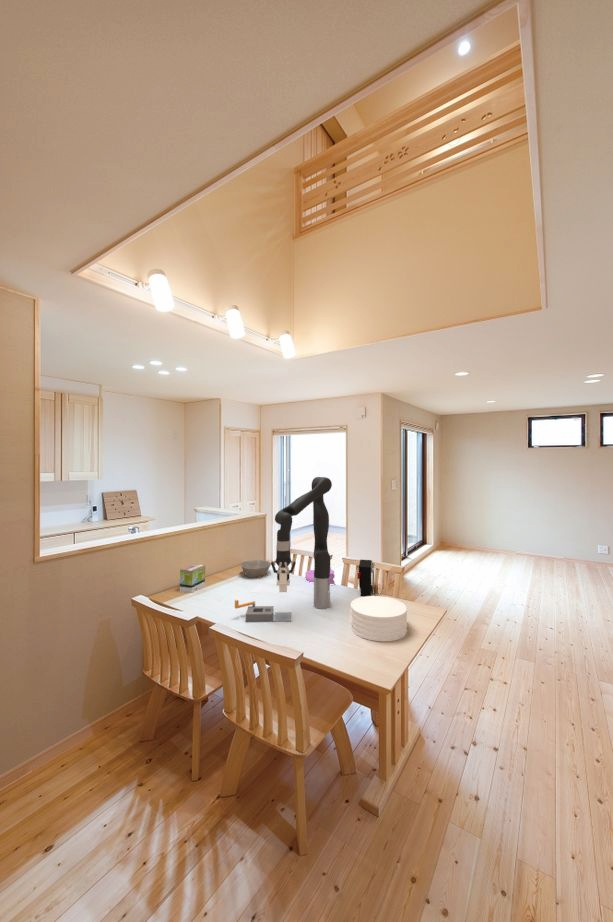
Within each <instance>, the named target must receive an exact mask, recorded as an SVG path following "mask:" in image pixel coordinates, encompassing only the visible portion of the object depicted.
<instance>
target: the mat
mask: <svg viewBox="0 0 613 922" xmlns="http://www.w3.org/2000/svg"><path fill="white" fill-rule="evenodd" d="M274 613H275V614H274V617H273V619H274V620H273V622H274V623H277V622H278V623H282V622H285V623H287V622H290V623H291V622H292V612H287V611H284V612H280V611H279V612H277V611H276V612H274Z"/></svg>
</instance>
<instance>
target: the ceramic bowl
mask: <svg viewBox="0 0 613 922" xmlns="http://www.w3.org/2000/svg"><path fill="white" fill-rule="evenodd" d="M239 566H240V567H241V569H242V571H243V573H244V574H245V575H246V576H247V577H248V578H252V579H257V578H262V577H264V576H265V575H266V574H267V573H268V571H269V569H270V567H271V566H272V565H271V562H270V561H267V560H264V559H263V560H261V559H257V560H254V559H253V560H248V561H243V562H241V563H240V564H239Z"/></svg>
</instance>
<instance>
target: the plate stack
mask: <svg viewBox="0 0 613 922" xmlns="http://www.w3.org/2000/svg"><path fill="white" fill-rule="evenodd" d="M407 609H408V608H407V606H406V605H405V603H403V602H402V601H400V600H398V599H395V598H392V597H387V596H380V595H378V596H377V595H374V596H366V597H362V596H359V597H357V598H355V599H353V600H352V601H351V602H350V629H351V632H352V633H354V634H355V635H357V636H358V637H360V638H362V639H365V640H369V641H373V642H385V643H386V642H393V641H397V640H401V639H403V638H404V637H405V636H406V635H407V631H408V629H407V627H408V623H407V622H408V621H407V620H408V616H407V615H408V613H407V612H408V610H407Z"/></svg>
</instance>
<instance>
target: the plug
mask: <svg viewBox="0 0 613 922" xmlns="http://www.w3.org/2000/svg"><path fill="white" fill-rule="evenodd" d="M290 581H291V580H290V579H289V580H288V581H287V571H286V569H282V570H280V572H279V581H278V580H277V579H276V584H275V585H276V586H279V588H278V591H279V593H287V592H288V586H289V587H290V586H291V585H290V584H291V582H290Z"/></svg>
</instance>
